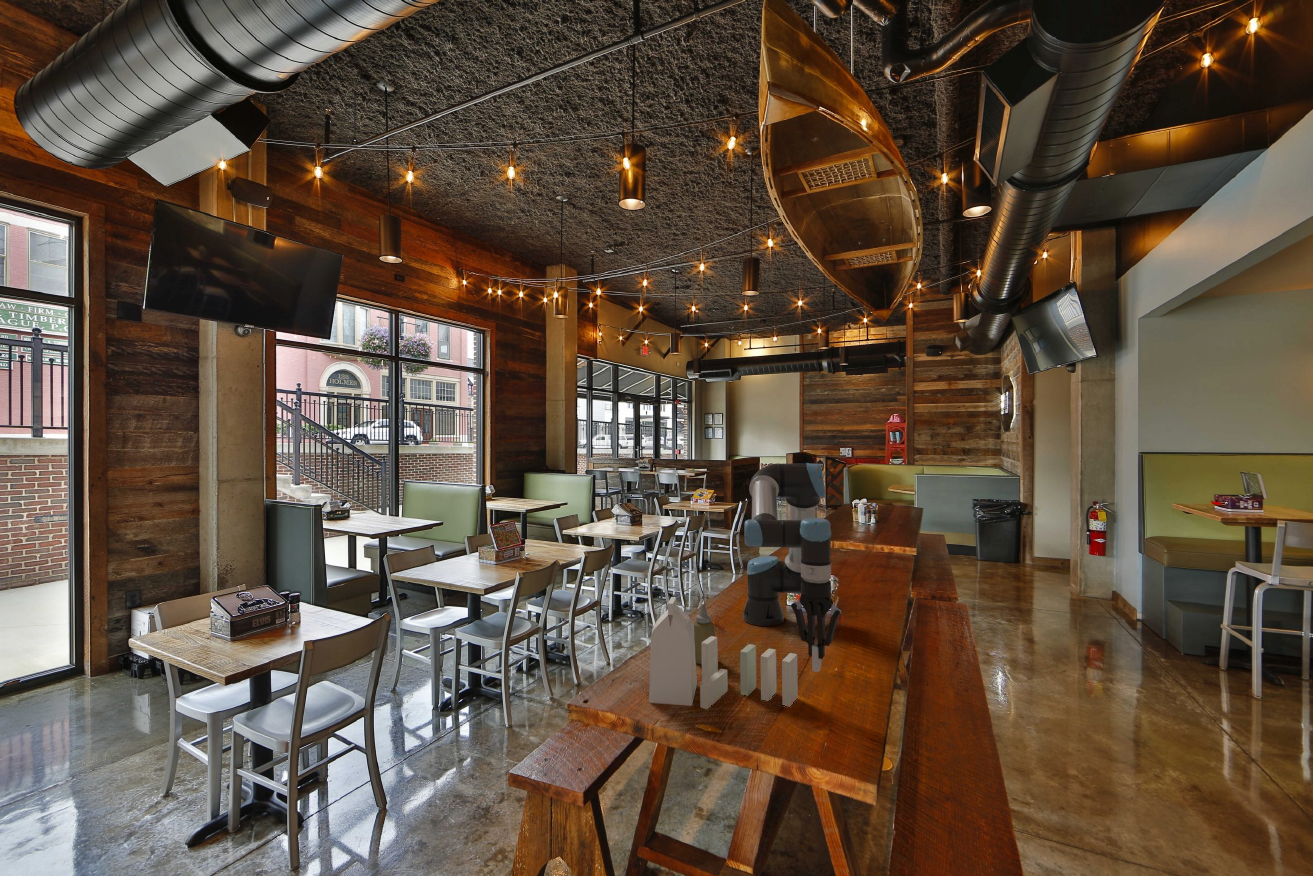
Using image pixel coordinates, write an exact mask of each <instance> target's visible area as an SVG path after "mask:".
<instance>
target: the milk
mask: <svg viewBox="0 0 1313 876" xmlns="http://www.w3.org/2000/svg"><path fill="white" fill-rule="evenodd" d="M677 602H678V601H677V596H676V597H675V596H671V597H670V599H669V601H668V603H667V610H666V611H665V612H664V613H662V614H661V615H660V616H659V618H658V619H657V620H656V622H655V624H654V626H653V628H652V629H651V635H650V654H649V655H650V658H649V659H650V660H649V661H650V662H649V665H650V666H649V691H648V692H649V693H648V694H649V696H648V703H649V704H660V705H661V704H663V705H677V706H688V707H689V706H690V707H692V706H693V702H694V698H695V693H696V689H697V685H698V683H697V668H696V667H697V666H696V664H697V663H696V662H695V641H694V621H693V619H692V618H691V617H690V616H689V615H688V614H687V613H686V612H685V611H684V610H683V609H682V608H680V606H678V603H677Z"/></svg>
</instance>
